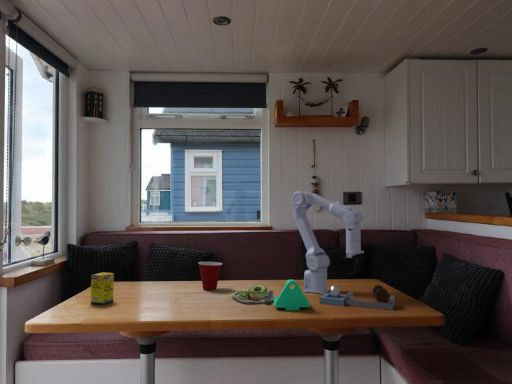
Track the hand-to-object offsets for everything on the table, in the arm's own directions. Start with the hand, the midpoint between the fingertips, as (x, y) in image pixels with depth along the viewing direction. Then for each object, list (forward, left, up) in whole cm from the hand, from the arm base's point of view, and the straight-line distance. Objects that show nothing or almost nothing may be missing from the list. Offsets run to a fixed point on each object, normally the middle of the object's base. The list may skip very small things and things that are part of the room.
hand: (353, 273), depth 156 cm
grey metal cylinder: (-5, -11, -10) cm, 15 cm away
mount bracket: (+8, -9, -9) cm, 15 cm away
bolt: (+9, +4, -10) cm, 14 cm away
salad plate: (-35, -19, -10) cm, 41 cm away
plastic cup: (-60, -13, -10) cm, 62 cm away
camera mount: (-17, -25, -10) cm, 32 cm away
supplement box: (-84, -51, -10) cm, 99 cm away
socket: (-5, -11, -9) cm, 15 cm away
